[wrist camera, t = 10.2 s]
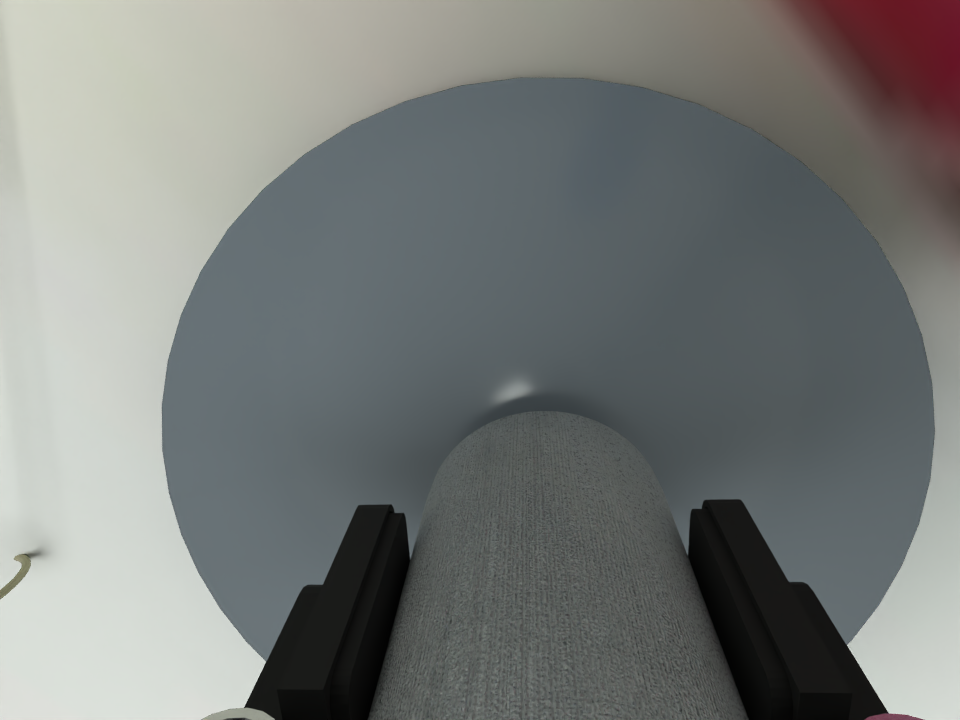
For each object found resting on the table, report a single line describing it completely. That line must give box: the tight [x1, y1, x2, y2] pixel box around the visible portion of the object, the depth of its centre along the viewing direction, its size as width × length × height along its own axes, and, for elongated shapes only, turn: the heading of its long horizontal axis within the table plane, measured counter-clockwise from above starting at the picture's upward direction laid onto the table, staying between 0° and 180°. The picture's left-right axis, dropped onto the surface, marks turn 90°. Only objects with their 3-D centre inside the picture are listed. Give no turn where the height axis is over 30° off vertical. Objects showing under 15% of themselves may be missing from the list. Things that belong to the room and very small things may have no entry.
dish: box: [162, 78, 935, 662], centre depth 15 cm, size 16×16×1 cm
